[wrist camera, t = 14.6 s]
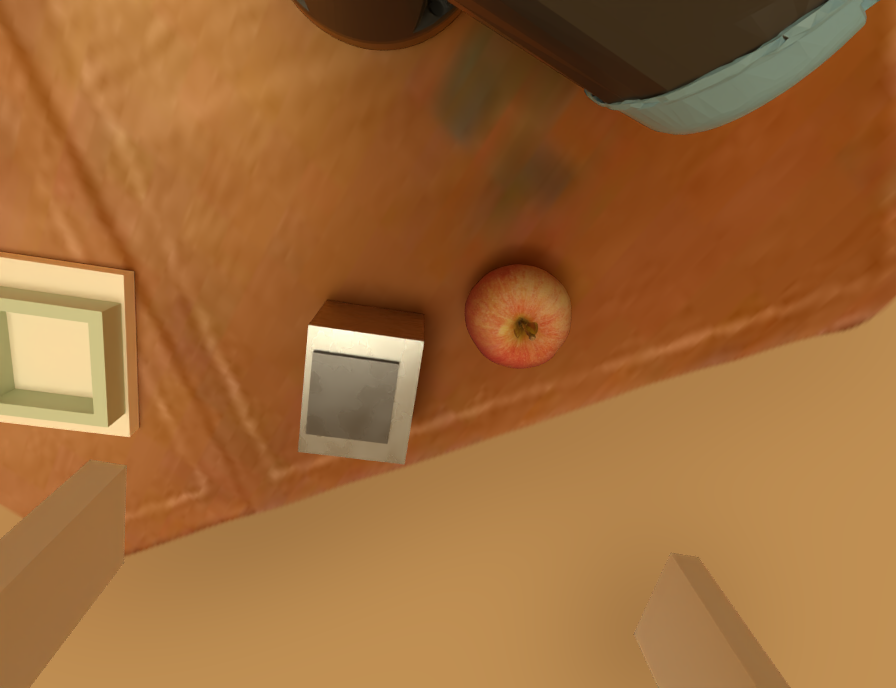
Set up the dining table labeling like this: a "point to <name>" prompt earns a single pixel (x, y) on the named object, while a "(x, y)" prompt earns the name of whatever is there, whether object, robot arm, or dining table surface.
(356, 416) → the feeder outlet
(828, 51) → the robot arm
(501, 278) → the apple
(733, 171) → the dining table surface
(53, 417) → the board
